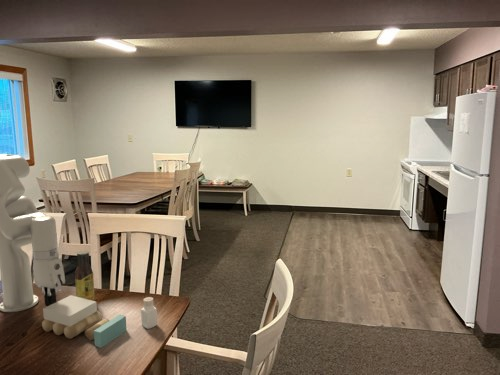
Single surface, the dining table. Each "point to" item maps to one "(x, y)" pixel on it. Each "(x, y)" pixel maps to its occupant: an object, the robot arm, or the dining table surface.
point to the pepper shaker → (148, 313)
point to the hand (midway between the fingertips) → (51, 304)
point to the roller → (91, 330)
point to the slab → (70, 310)
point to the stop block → (110, 330)
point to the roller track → (75, 328)
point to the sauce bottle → (84, 277)
